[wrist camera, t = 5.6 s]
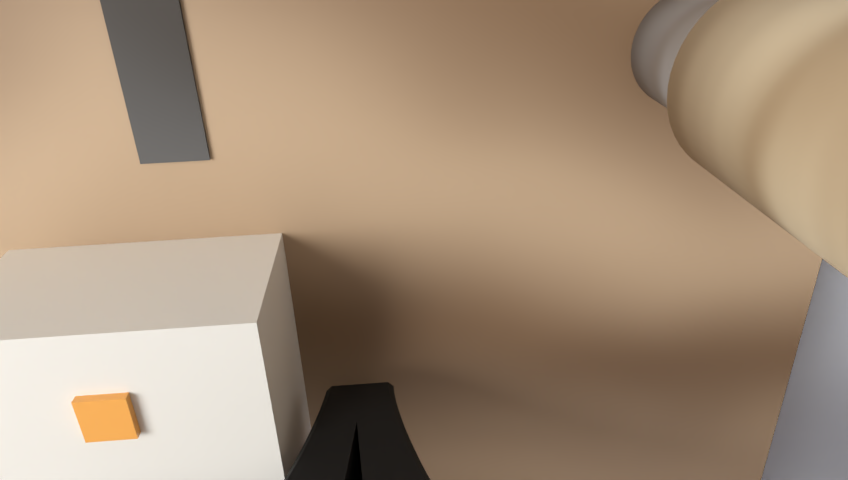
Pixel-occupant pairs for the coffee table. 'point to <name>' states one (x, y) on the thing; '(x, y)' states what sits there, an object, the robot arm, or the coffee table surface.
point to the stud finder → (150, 362)
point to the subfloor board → (429, 214)
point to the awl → (759, 104)
